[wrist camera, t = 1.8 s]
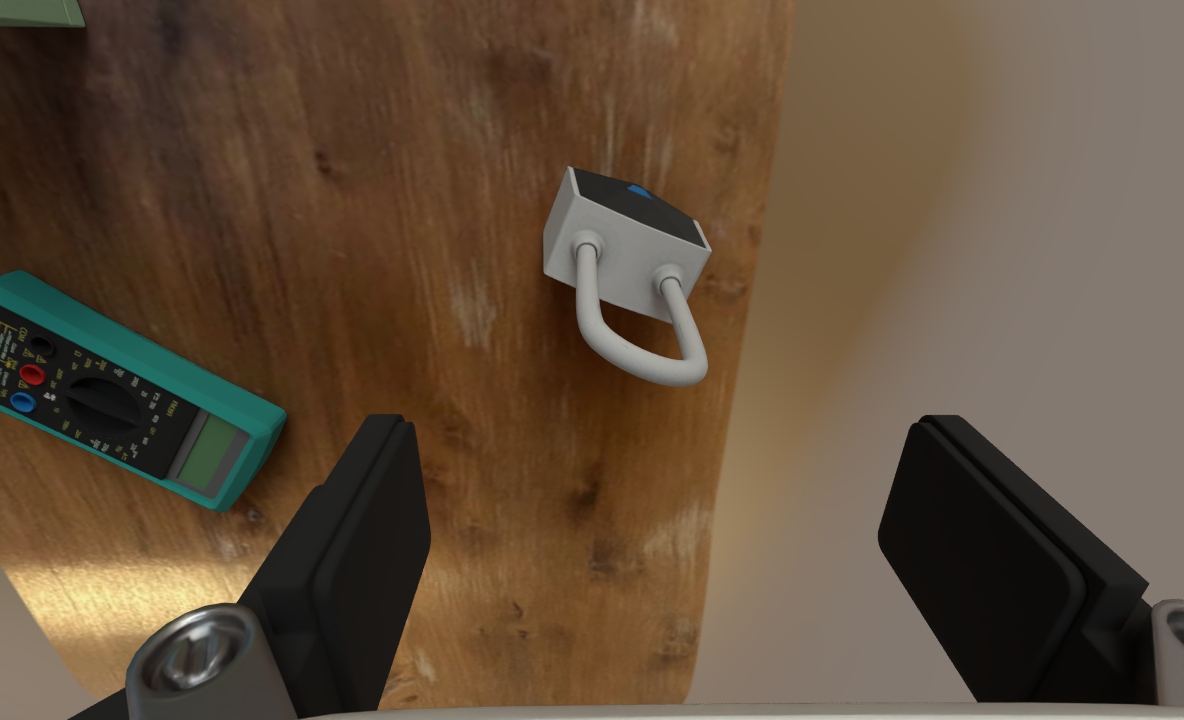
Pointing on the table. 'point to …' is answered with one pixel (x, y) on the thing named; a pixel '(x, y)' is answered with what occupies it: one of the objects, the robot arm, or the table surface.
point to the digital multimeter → (128, 396)
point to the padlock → (628, 269)
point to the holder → (40, 13)
